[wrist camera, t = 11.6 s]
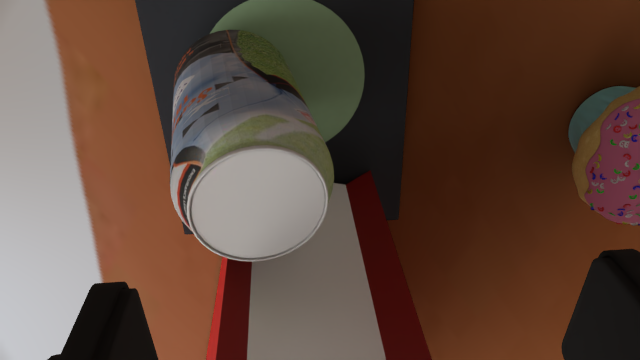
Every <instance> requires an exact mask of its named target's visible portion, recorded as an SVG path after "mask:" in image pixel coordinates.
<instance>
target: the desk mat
mask: <svg viewBox="0 0 640 360" xmlns="http://www.w3.org/2000/svg"><path fill="white" fill-rule="evenodd" d="M135 2H136V7H137V12H138V16H139V21H140V26H141V30H142V35H143V40H144V44H145V49H146V54H147V59H148V63H149V68H150V73H151V77H152V82H153V87H154V91H155V96H156V101H157V106H158V110H159V115H160V120H161V124H162V129H163V134H164V138H165V143H166V148H167V153H168V157H169V162H170V167H171V144H172V119H173V93H174V78H175V72H176V69H177V66H178V63H179V61H180V59H181V58H182V56H183V54H184V53H185V52H186V51H187V49H188V48H189V47H190V46H191V45H192V44H194V43H195V42H196V41H197V40H199V39H200V38H202V37H204V36H206V35H208V34H211V33H214V32H217V31H222V30H243V31H248V32H251V33H254V34H257V35H259V36H261V37H263V38H264V39H266V40H268V41H269V42H270V43H271V44H273V45H274V46H275V47H276V48H277V49H278V50H279V52H280V53H281V54H282V55H283V57H284V59H285V61H286V63H287V65H288V67H289V69H290V71H291V73H292V75H293V77H294V79H295V81H296V84H297V86H298V88H299V90H300V92H301V94H302V96H303V98H304V100H305V102H306V104H307V106H308V109H309V111H310V113H311V115H312V117H313V119H314V121H315V123H316V125H317V127H318V129H319V132H320V134H321V136H322V138H323V140H324V142H325V144H326V146H327V148H328V150H329V152H330V156H331V159H332V163H333V169H334V183H337V184H344V185H346V184H348V183H349V182H351V181H353V180H354V179H356V178H358V177H359V176H361V175H363V174H365V173H366V172H368V171H371V174H372V177H373V180H374V183H375V186H376V189H377V192H378V196H379V199H380V202H381V205H382V208H383V211H384V214H385V217H386V220H398V218H399V204H400V190H401V175H402V161H403V147H404V133H405V118H406V104H407V90H408V76H409V61H410V47H411V33H412V19H413V4H414V0H135ZM182 223H183V228H184V232H185V234H194V233H193V232H192V231H191V230H190V229H189V228H188V227H187V226H186V225H185V224H184V222H183V221H182Z"/></svg>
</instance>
